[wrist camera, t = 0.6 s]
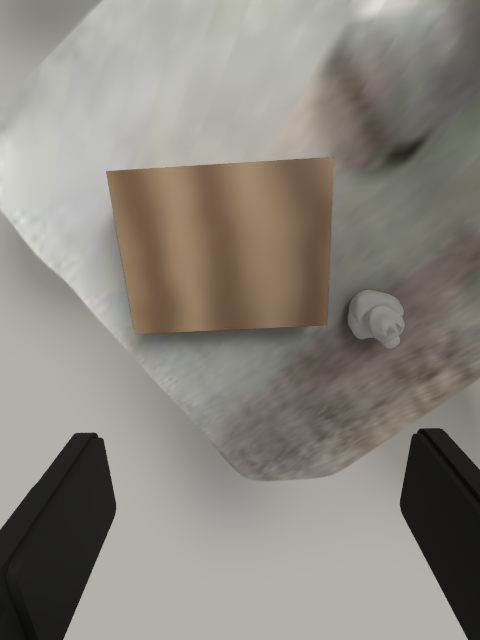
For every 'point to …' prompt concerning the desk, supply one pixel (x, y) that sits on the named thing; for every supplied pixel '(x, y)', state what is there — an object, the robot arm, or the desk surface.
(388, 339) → the grey lumpy piece
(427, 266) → the desk surface
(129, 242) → the walnut block
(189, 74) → the desk surface
